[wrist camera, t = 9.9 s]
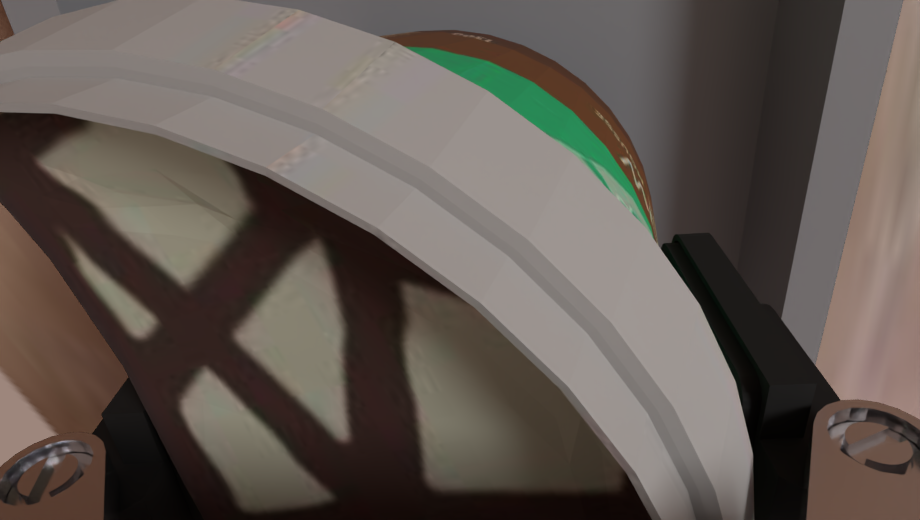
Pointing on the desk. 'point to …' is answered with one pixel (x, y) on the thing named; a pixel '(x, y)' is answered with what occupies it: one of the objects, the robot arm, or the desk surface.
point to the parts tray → (697, 111)
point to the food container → (369, 268)
